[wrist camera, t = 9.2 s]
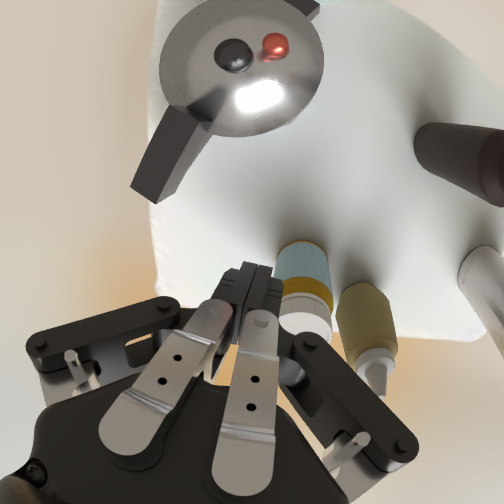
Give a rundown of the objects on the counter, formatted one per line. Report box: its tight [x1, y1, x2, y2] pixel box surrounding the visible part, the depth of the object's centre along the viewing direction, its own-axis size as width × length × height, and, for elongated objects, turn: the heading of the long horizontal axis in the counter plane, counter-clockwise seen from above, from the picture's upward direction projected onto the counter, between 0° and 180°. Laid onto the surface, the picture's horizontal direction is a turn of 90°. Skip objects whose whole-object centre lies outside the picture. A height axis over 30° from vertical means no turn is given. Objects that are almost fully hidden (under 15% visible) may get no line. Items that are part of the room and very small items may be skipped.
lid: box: [130, 0, 324, 204], centre depth 19 cm, size 21×15×5 cm
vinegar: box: [414, 123, 504, 207], centre depth 18 cm, size 7×7×20 cm
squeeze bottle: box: [335, 282, 398, 399], centre depth 31 cm, size 8×8×18 cm
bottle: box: [273, 240, 333, 344], centre depth 31 cm, size 7×7×15 cm
